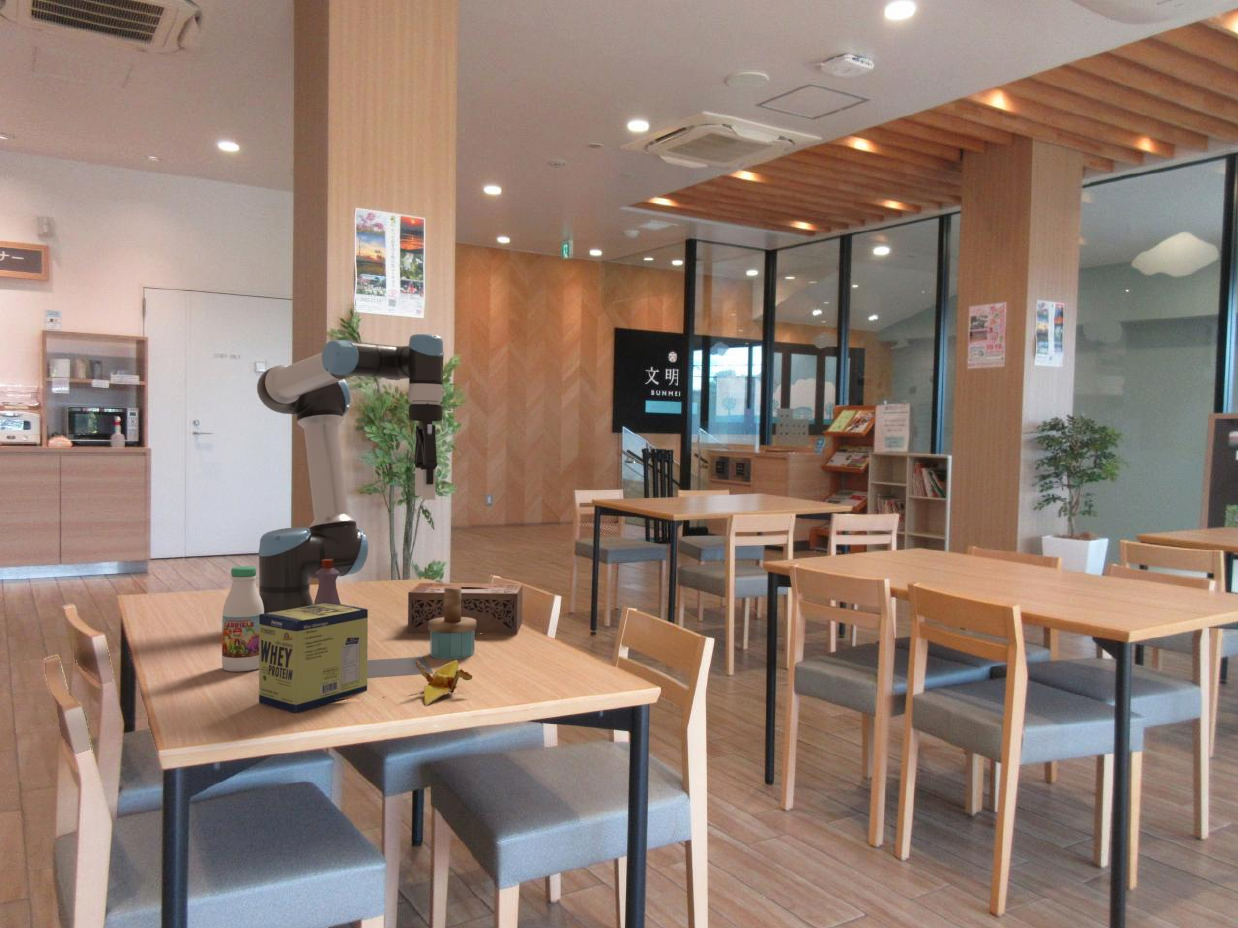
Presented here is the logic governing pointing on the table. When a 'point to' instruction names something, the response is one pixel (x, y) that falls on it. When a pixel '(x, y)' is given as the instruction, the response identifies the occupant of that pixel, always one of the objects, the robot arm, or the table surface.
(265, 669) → the protein box
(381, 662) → the mat
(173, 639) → the table surface
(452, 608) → the lid
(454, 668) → the origami crane
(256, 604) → the milk bottle
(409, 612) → the tissue box cover
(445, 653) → the teal short cylinder
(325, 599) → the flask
